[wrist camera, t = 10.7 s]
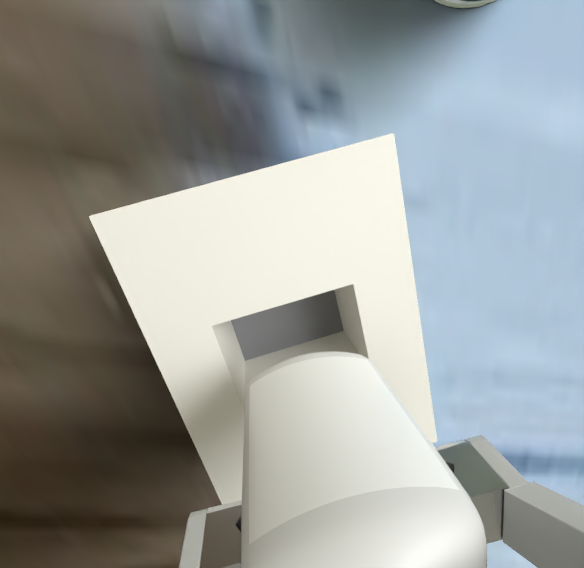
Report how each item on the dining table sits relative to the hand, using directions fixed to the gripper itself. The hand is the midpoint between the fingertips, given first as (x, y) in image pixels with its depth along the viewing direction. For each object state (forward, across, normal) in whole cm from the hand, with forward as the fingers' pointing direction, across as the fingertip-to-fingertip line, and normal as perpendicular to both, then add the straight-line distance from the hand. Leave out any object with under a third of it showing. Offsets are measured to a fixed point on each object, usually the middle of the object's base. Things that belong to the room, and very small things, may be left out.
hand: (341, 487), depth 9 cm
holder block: (+14, 0, 0) cm, 14 cm away
